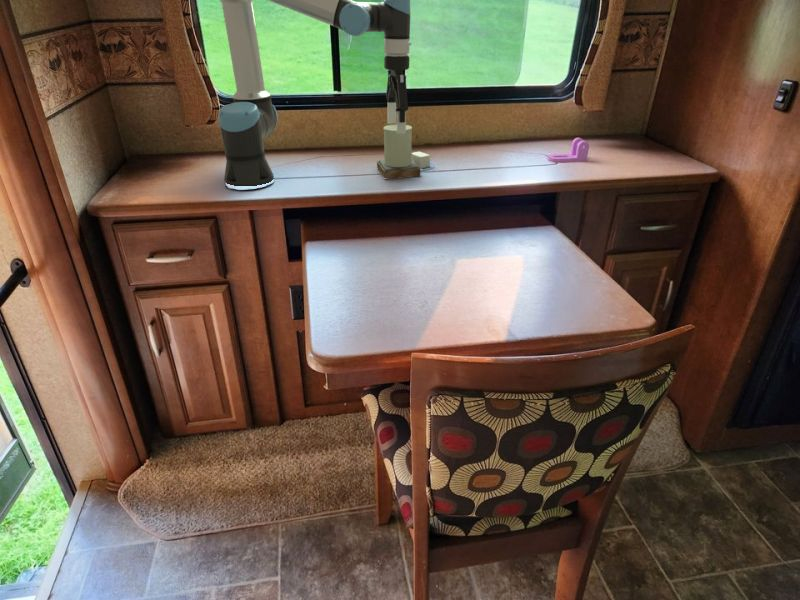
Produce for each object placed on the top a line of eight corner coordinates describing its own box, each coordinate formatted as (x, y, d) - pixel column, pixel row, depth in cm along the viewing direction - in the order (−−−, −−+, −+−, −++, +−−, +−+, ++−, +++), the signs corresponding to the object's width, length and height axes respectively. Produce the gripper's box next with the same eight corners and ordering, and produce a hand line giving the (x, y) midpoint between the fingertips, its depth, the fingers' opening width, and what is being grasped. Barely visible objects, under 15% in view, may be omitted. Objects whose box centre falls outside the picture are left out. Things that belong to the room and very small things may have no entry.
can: (417, 162, 172) (417, 125, 166) (400, 169, 165) (400, 130, 159) (395, 158, 176) (395, 121, 170) (378, 164, 170) (377, 126, 164)
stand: (384, 179, 166) (384, 170, 165) (377, 168, 176) (376, 159, 175) (420, 176, 169) (420, 167, 167) (411, 165, 179) (411, 157, 177)
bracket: (579, 157, 186) (583, 137, 183) (586, 161, 181) (590, 141, 178) (544, 158, 185) (547, 138, 181) (550, 163, 180) (553, 142, 176)
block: (420, 168, 176) (420, 157, 174) (410, 164, 180) (410, 153, 178) (429, 166, 178) (429, 155, 176) (419, 162, 182) (419, 151, 180)
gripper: (419, 59, 145) (417, 136, 155) (399, 50, 165) (399, 119, 176) (393, 59, 143) (393, 137, 154) (376, 50, 164) (377, 120, 175)
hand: (396, 128), depth 165 cm, fingers open, 13 cm apart
